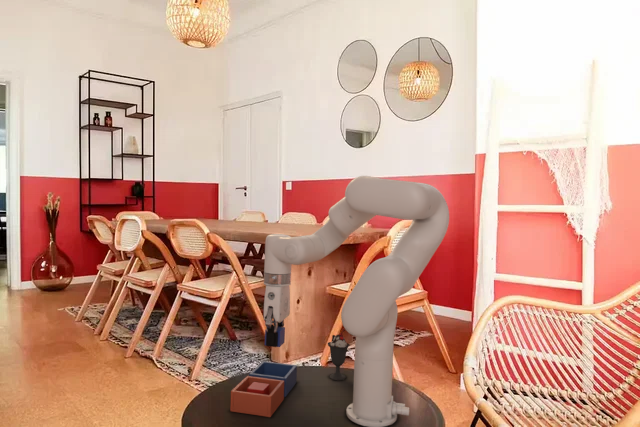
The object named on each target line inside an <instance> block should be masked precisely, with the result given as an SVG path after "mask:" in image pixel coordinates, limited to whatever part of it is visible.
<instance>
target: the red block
mask: <svg viewBox="0 0 640 427" xmlns="http://www.w3.org/2000/svg"><path fill="white" fill-rule="evenodd" d="M247 392H249V393H257V394H264V395H269V384H265V383H258V382H253V383H252V384H251V385H250V386H249V387H248V388H247Z"/></svg>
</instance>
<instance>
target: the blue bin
mask: <svg viewBox="0 0 640 427" xmlns="http://www.w3.org/2000/svg"><path fill="white" fill-rule="evenodd" d="M297 375H298V365H297V364H289V363H281V362H273V361H263V360H262V361H261V362H259V364H258V365H257V366H256V367H255V368H254V369H253V370H252V371H250V373H248V376H252V377H260V378H267V379H275V380H283V381H284V398H286V397H287V396H288V395H289V393H290V392H291V390H292V389H293V388H294V386H295V385H296V383H297V379H298V377H297Z"/></svg>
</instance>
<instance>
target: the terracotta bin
mask: <svg viewBox="0 0 640 427" xmlns="http://www.w3.org/2000/svg"><path fill="white" fill-rule="evenodd" d="M253 382H258V383H265V384H269V395H264V394H257V393H249V392H247V388H248V387H249V386H250V385H251V384H252V383H253ZM284 400H285V397H284V381H283V380H275V379H267V378H260V377H252V376H249V375H247V376H245V377H244V378H243V379H242V380H241V381H240V382H238V384H237V385H235V387H233V388H232V389H231V390H230V412H231V413H241V414H246V415H253V416H259V417H265V418H271V417H272V416H273V414H274V413H275V412H276V411H277V409H278V408H279V406H280V405H281V404H282V402H283V401H284Z"/></svg>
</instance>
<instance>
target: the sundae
mask: <svg viewBox="0 0 640 427" xmlns="http://www.w3.org/2000/svg"><path fill="white" fill-rule="evenodd" d="M344 332H346V329H345V328H343V329H342V331H341V332H340V333H339V334H336V335H335V334H332V335H331V341H328V342H327V346H328V348H329V351H330V360H331V363H332V364H333V365H334V366H335V371H334V373H332V374H330V375H329V379H331V380H334V381H343V380H345V379H346V378H347V377H346V375H344V374H342V373H341V370H340V369H341V366H342V365H343V364H345V361H346V358H347V351H348V348H349V347H350V346H351V343H348V342H347V341H346V338H345V336H344V334H343V333H344Z"/></svg>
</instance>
